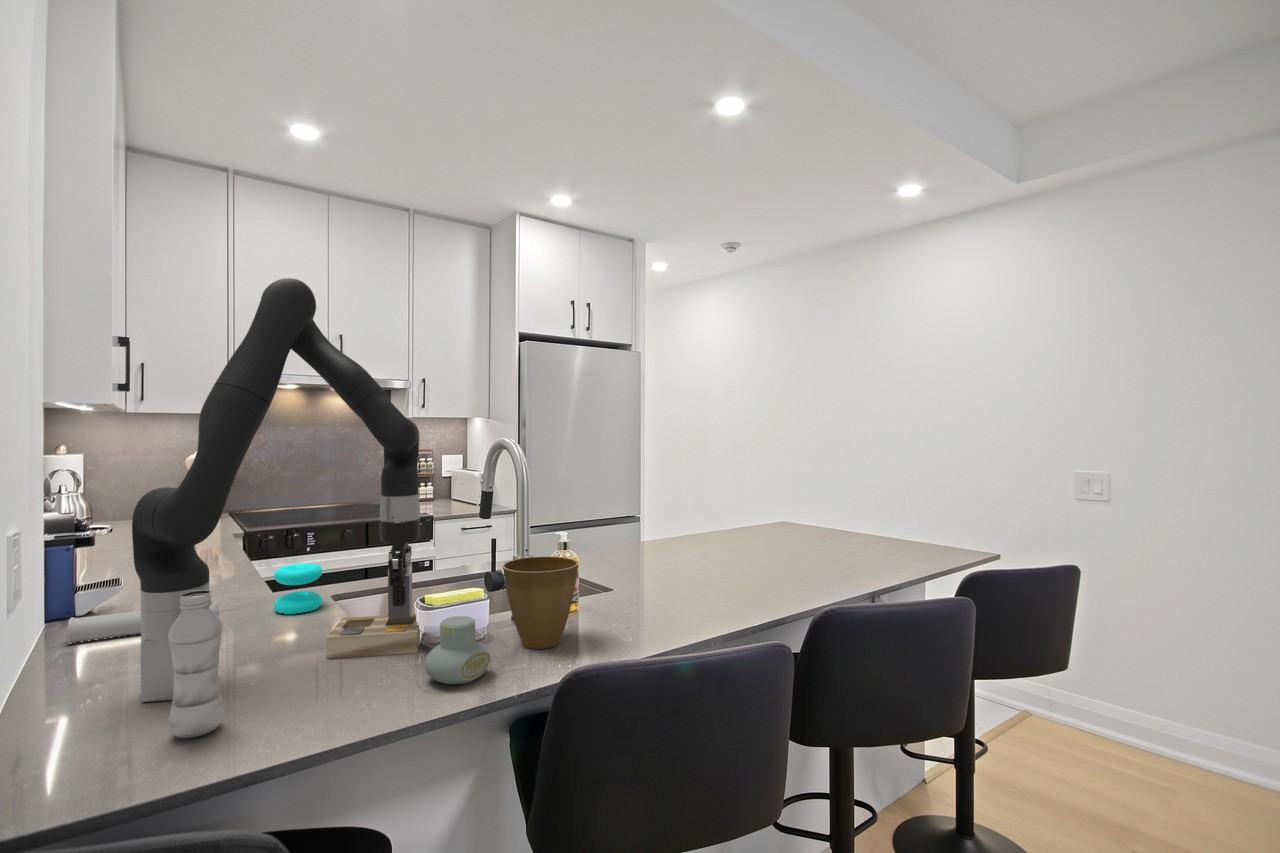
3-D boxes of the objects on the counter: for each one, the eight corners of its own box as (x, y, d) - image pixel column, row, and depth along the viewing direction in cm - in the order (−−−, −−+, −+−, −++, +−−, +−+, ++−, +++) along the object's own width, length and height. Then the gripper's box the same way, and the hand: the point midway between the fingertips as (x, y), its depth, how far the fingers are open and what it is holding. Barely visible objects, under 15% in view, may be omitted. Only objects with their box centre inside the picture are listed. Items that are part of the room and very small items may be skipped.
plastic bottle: (234, 721, 97) (233, 586, 96) (205, 744, 90) (204, 599, 90) (189, 722, 97) (188, 587, 96) (157, 745, 90) (156, 600, 89)
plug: (409, 617, 130) (409, 567, 130) (388, 619, 129) (388, 568, 129) (412, 611, 134) (411, 563, 134) (391, 613, 133) (391, 564, 133)
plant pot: (593, 639, 133) (593, 560, 133) (543, 662, 121) (543, 575, 120) (538, 626, 141) (538, 552, 141) (486, 646, 129) (486, 565, 129)
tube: (219, 601, 146) (73, 618, 133) (219, 599, 142) (67, 616, 128) (219, 626, 145) (71, 645, 131) (219, 624, 140) (66, 645, 127)
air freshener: (452, 695, 106) (452, 633, 106) (416, 684, 110) (416, 625, 110) (497, 672, 116) (497, 616, 116) (462, 663, 120) (462, 609, 120)
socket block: (416, 652, 125) (416, 630, 125) (326, 658, 122) (326, 635, 122) (424, 632, 137) (424, 611, 137) (342, 637, 134) (342, 616, 134)
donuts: (327, 567, 152) (280, 574, 146) (328, 610, 152) (280, 618, 146) (314, 560, 160) (268, 566, 153) (315, 601, 160) (269, 609, 153)
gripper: (386, 512, 138) (386, 593, 138) (373, 523, 124) (374, 614, 124) (423, 511, 139) (424, 591, 139) (415, 522, 125) (415, 611, 126)
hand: (400, 601), depth 132 cm, fingers closed on plug, 4 cm apart
